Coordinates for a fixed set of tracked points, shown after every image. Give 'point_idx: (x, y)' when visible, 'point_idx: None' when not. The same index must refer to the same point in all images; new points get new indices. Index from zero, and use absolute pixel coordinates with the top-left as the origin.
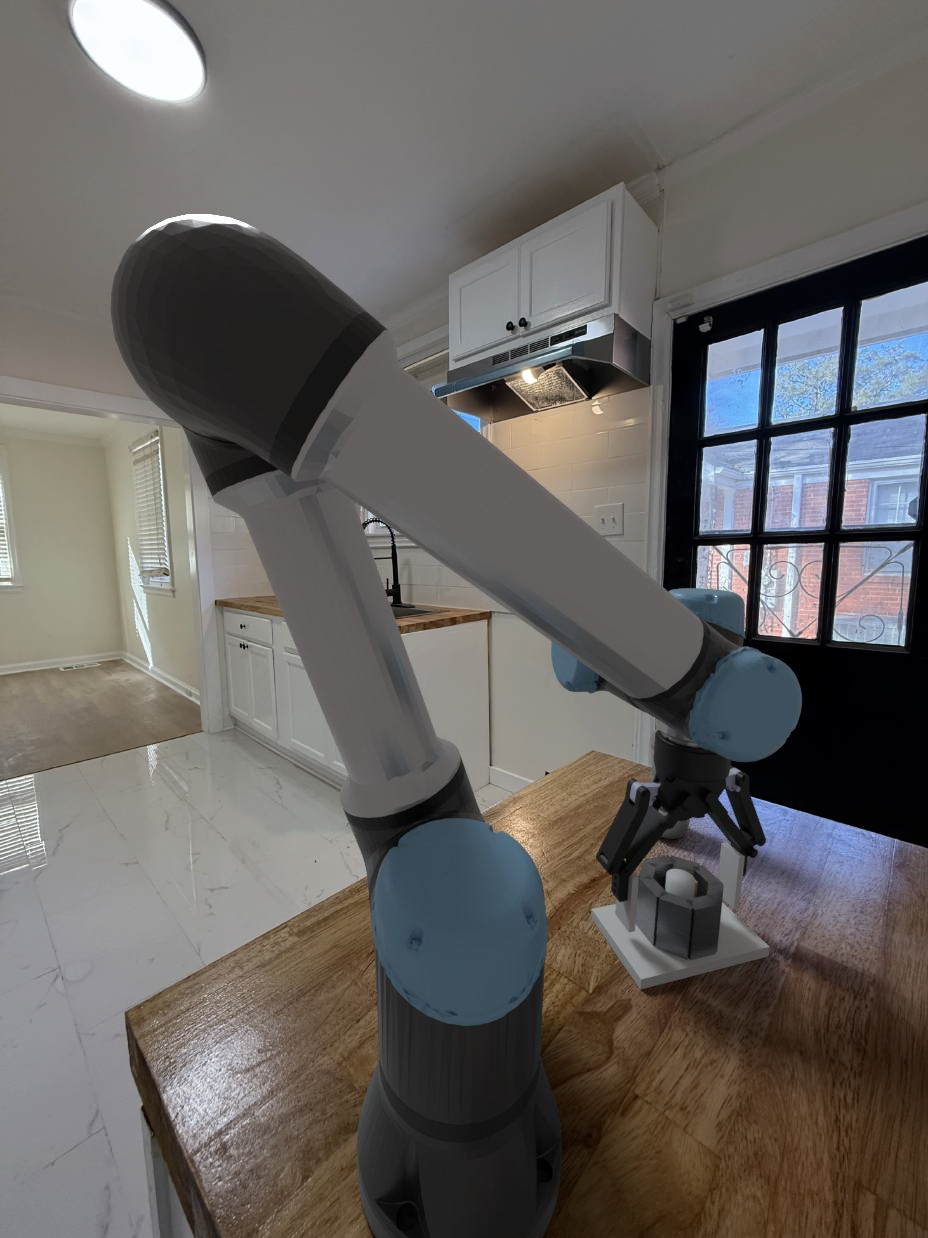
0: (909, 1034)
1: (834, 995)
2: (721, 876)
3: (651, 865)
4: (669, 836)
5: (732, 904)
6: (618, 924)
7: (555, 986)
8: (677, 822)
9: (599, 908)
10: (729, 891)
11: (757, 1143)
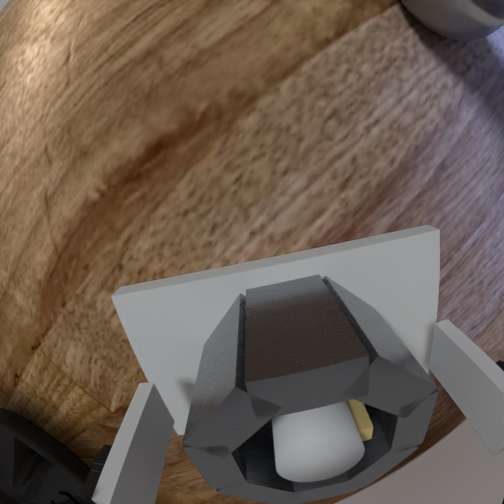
0: (449, 430)
1: (434, 410)
2: (462, 363)
3: (254, 412)
4: (436, 31)
5: (432, 369)
6: (163, 345)
7: (70, 394)
8: (476, 27)
9: (129, 296)
10: (446, 374)
11: (241, 500)
